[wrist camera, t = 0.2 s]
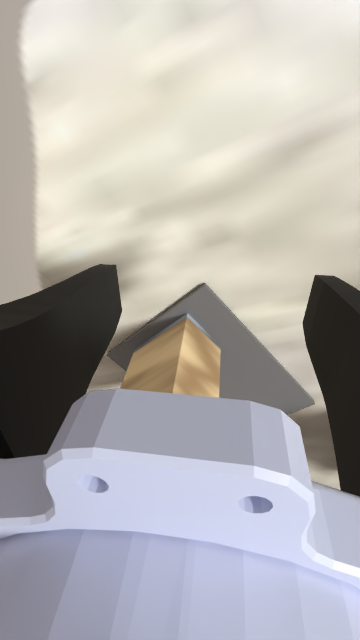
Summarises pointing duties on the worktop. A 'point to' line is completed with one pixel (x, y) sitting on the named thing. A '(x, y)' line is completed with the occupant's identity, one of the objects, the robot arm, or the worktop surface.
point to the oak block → (176, 362)
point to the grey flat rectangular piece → (227, 353)
